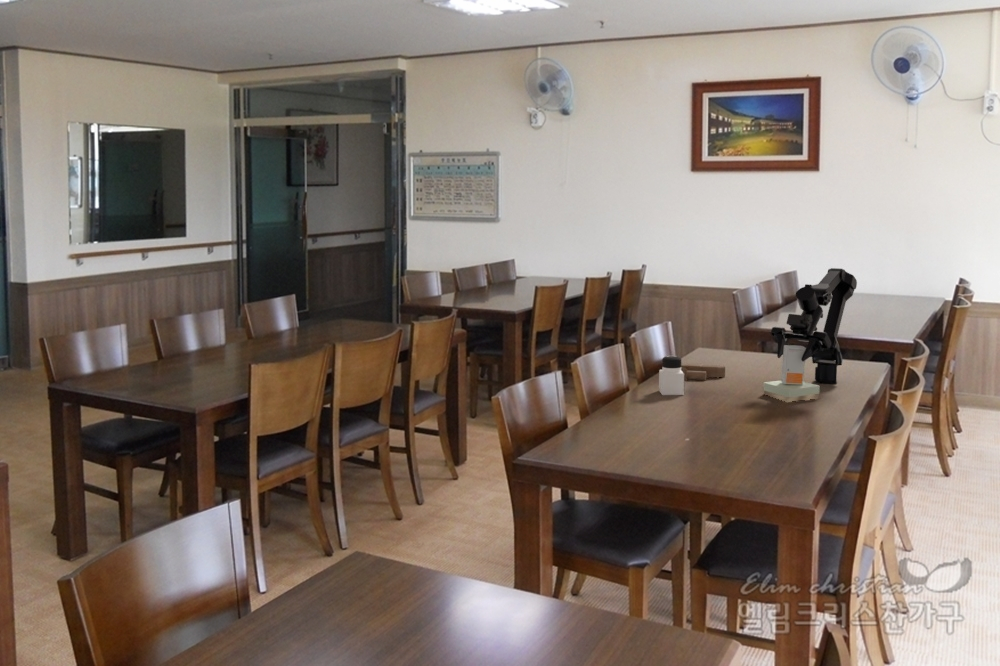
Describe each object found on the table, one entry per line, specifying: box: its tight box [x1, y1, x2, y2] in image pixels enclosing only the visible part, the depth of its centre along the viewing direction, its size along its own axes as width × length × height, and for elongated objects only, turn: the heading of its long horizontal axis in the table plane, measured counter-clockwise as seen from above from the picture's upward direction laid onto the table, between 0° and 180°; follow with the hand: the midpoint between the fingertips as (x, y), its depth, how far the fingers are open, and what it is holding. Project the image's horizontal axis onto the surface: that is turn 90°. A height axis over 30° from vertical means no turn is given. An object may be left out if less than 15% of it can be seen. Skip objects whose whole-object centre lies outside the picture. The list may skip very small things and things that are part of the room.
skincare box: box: [780, 344, 807, 385], centre depth 296 cm, size 6×4×12 cm
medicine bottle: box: [658, 355, 685, 396], centre depth 304 cm, size 7×7×12 cm
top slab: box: [762, 379, 821, 398], centre depth 297 cm, size 12×12×2 cm
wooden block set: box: [681, 362, 726, 382], centre depth 325 cm, size 17×6×18 cm
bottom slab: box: [763, 390, 820, 403], centre depth 298 cm, size 12×12×2 cm
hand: (790, 359), depth 295 cm, fingers open, 8 cm apart
